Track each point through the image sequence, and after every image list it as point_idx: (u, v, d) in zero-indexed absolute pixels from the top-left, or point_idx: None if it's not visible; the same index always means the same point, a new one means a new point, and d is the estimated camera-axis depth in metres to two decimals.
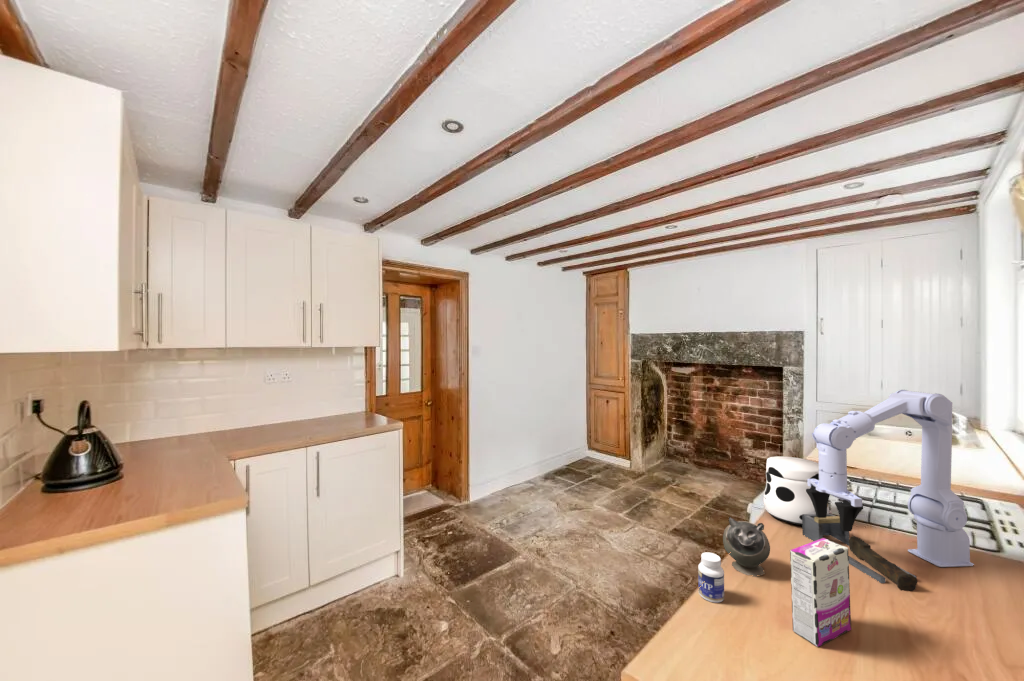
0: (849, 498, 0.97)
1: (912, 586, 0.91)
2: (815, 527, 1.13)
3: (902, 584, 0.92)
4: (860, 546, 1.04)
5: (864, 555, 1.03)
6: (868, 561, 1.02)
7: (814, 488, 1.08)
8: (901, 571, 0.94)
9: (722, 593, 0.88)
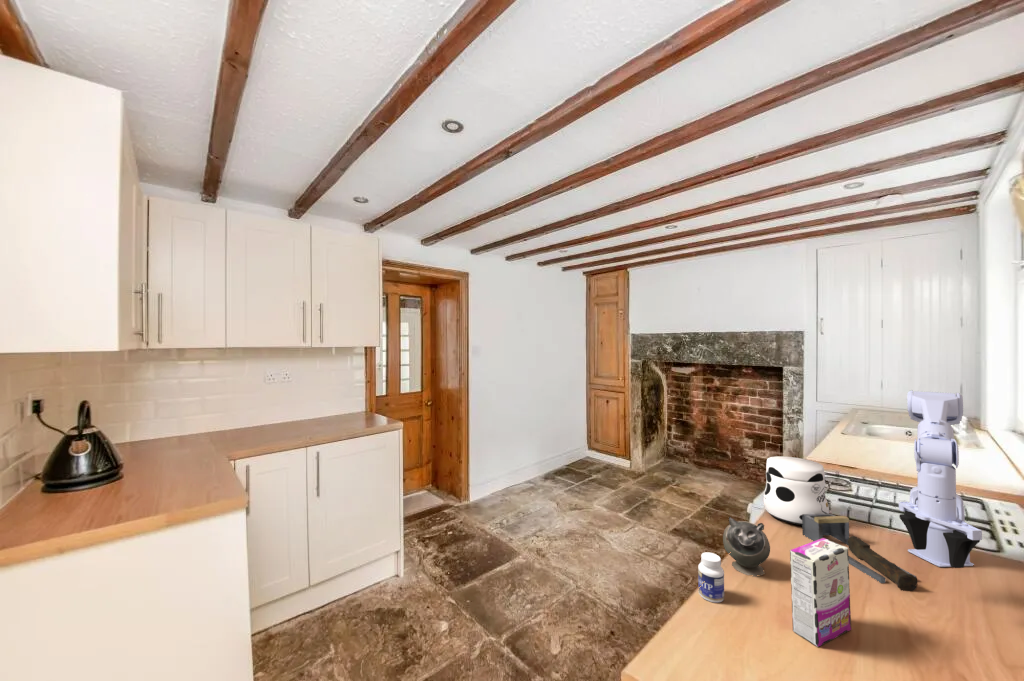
0: (964, 529, 0.80)
1: (913, 585, 0.91)
2: (815, 527, 1.13)
3: (903, 584, 0.92)
4: (860, 545, 1.04)
5: (864, 555, 1.03)
6: (868, 561, 1.02)
7: (910, 514, 0.91)
8: (901, 571, 0.94)
9: (722, 593, 0.88)
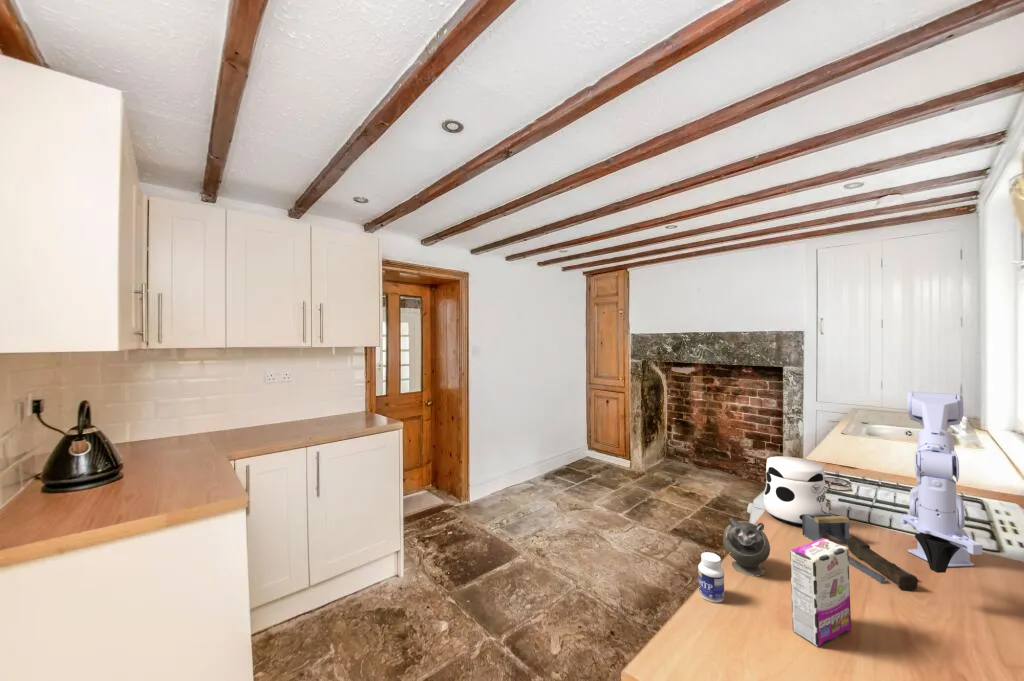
0: (965, 543, 0.80)
1: (913, 586, 0.91)
2: (815, 527, 1.13)
3: (903, 584, 0.91)
4: (860, 546, 1.04)
5: (864, 555, 1.03)
6: (868, 561, 1.02)
7: (926, 533, 0.88)
8: (902, 571, 0.94)
9: (722, 593, 0.88)
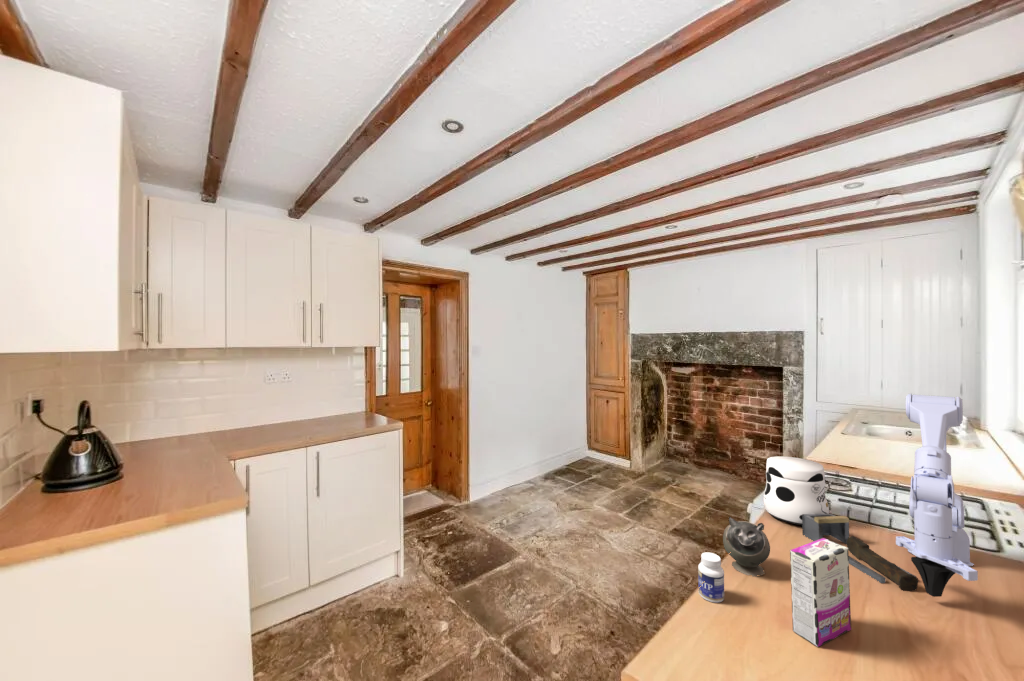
0: (960, 569, 0.81)
1: (914, 586, 0.91)
2: (815, 527, 1.13)
3: (904, 584, 0.91)
4: (859, 546, 1.04)
5: (863, 555, 1.03)
6: (868, 561, 1.02)
7: (922, 557, 0.89)
8: (902, 571, 0.94)
9: (722, 593, 0.88)
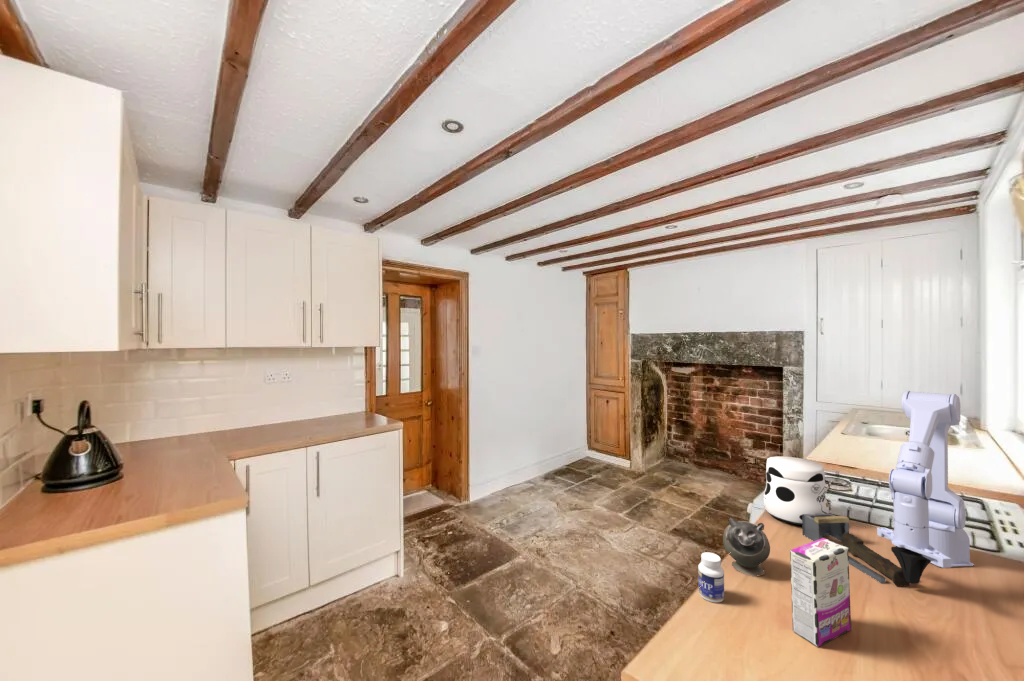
0: (935, 557, 0.86)
1: None
2: (815, 527, 1.13)
3: (897, 579, 0.93)
4: (854, 542, 1.06)
5: (858, 551, 1.04)
6: (862, 557, 1.03)
7: (901, 547, 0.93)
8: (896, 566, 0.95)
9: (722, 593, 0.88)
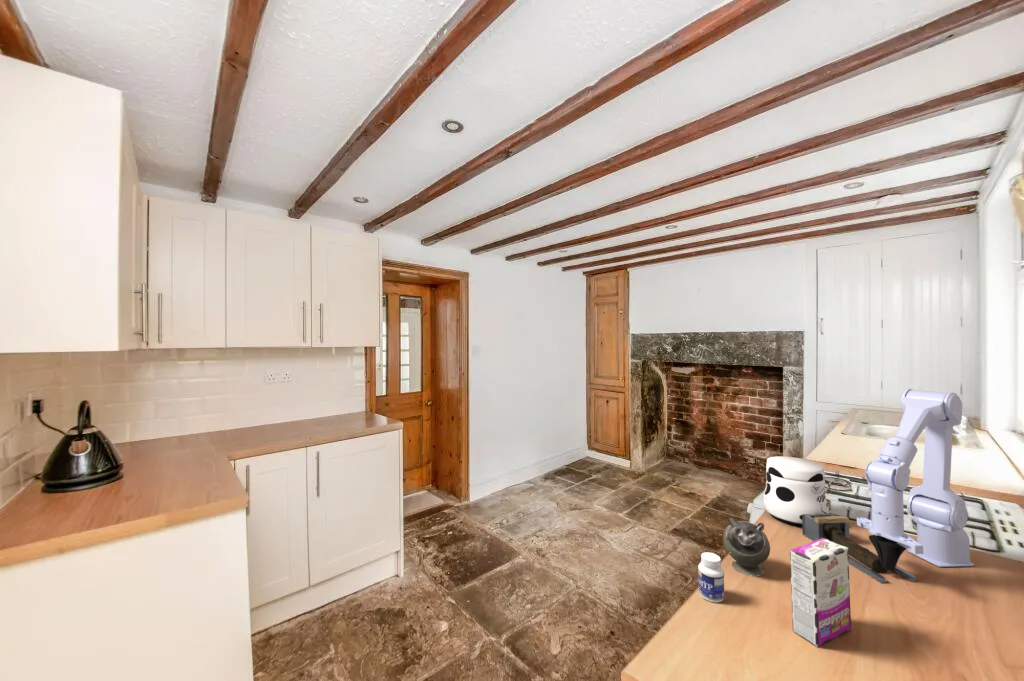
0: (909, 544, 0.91)
1: None
2: (815, 527, 1.13)
3: (876, 567, 0.98)
4: (835, 533, 1.11)
5: (839, 542, 1.10)
6: None
7: (878, 535, 0.99)
8: (874, 555, 1.01)
9: (722, 593, 0.88)
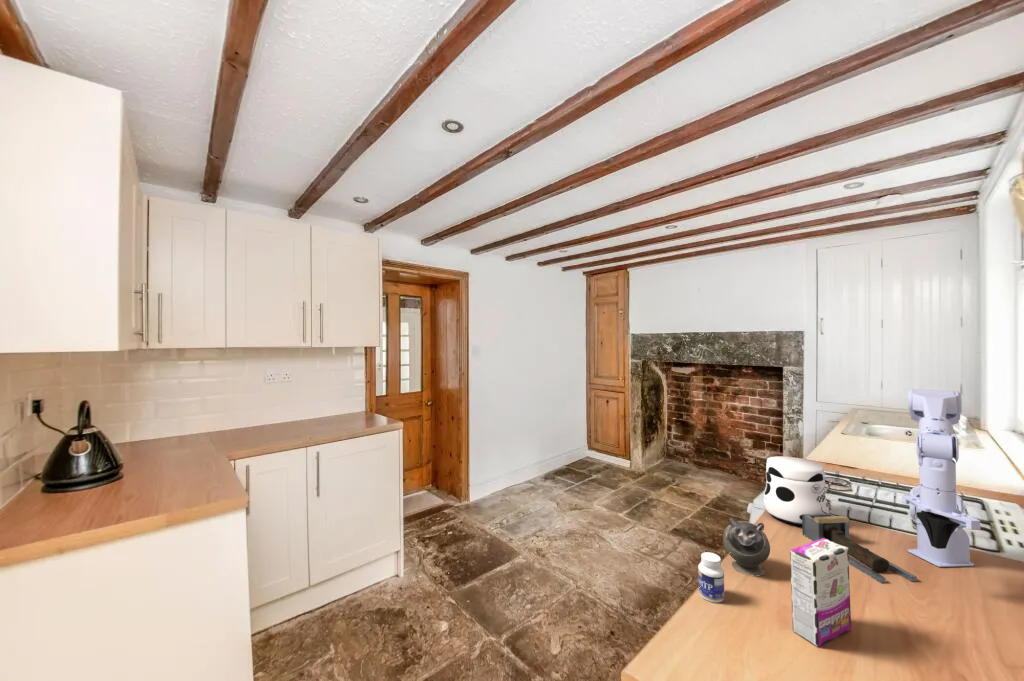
0: (964, 519, 0.85)
1: (885, 568, 0.98)
2: (815, 527, 1.13)
3: (876, 567, 0.98)
4: (835, 533, 1.11)
5: (839, 542, 1.10)
6: None
7: (927, 512, 0.92)
8: (874, 555, 1.01)
9: (722, 593, 0.88)
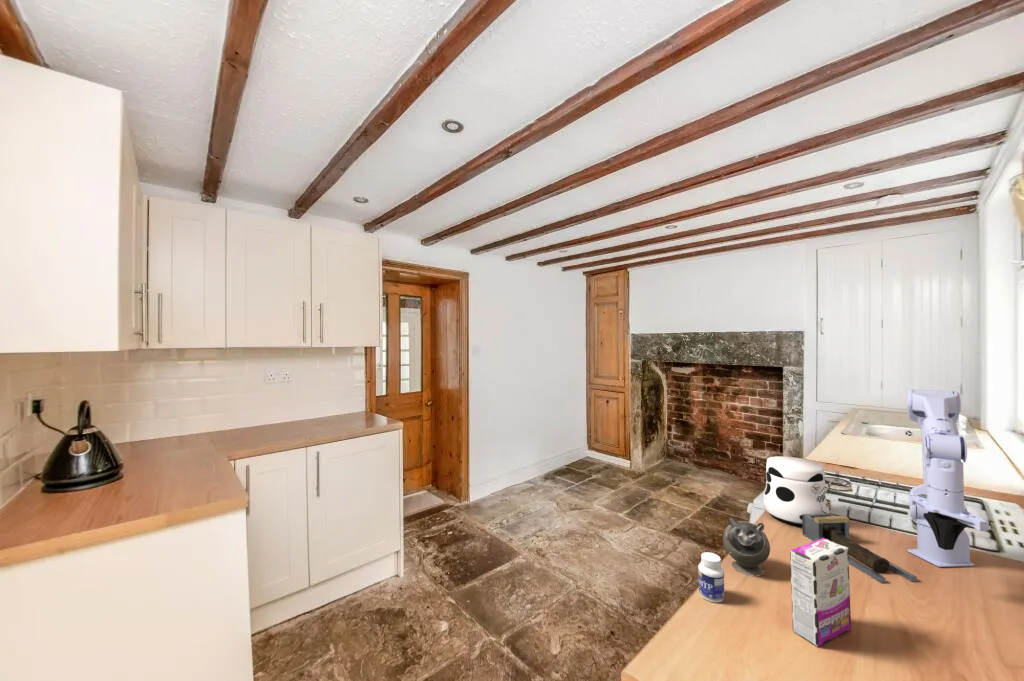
0: (972, 520, 0.84)
1: (886, 568, 0.98)
2: (815, 527, 1.13)
3: (877, 567, 0.98)
4: (835, 533, 1.11)
5: (838, 542, 1.10)
6: None
7: (934, 513, 0.91)
8: (875, 555, 1.01)
9: (722, 593, 0.88)
